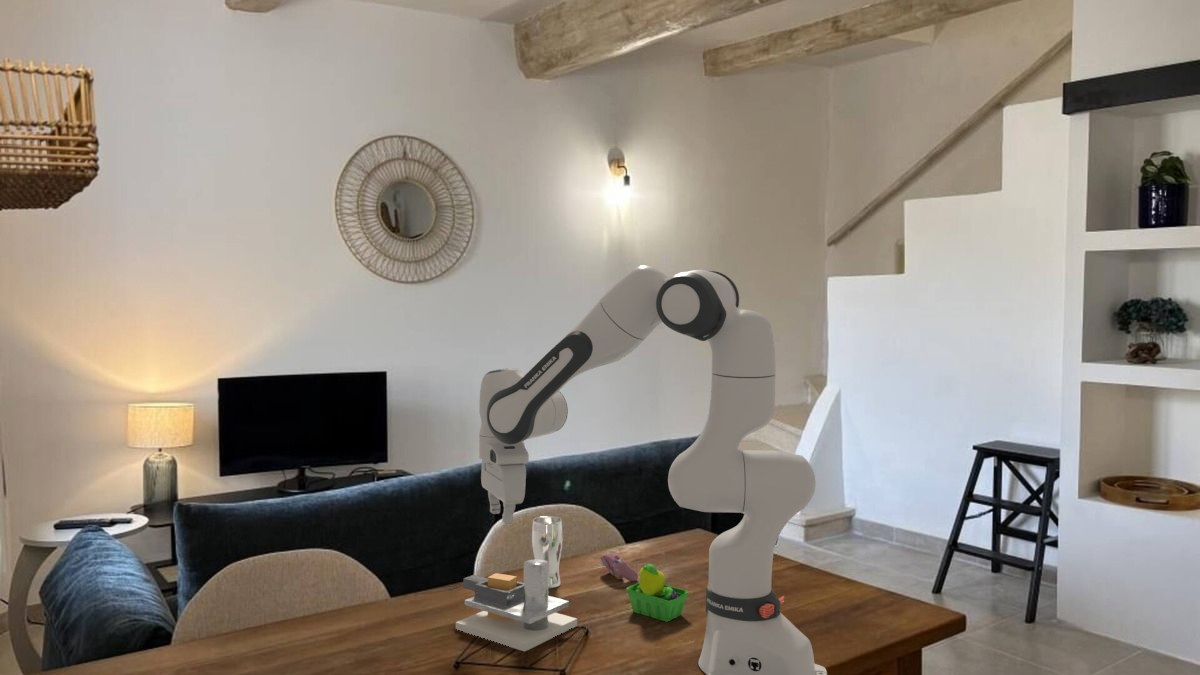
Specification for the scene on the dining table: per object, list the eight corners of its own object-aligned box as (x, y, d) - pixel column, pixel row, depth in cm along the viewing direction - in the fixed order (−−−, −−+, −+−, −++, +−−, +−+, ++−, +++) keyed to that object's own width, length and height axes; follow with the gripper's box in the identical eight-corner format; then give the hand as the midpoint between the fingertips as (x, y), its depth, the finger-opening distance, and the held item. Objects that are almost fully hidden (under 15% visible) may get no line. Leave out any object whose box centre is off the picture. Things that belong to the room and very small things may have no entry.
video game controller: (605, 578, 215) (594, 553, 213) (621, 567, 217) (609, 543, 215) (625, 590, 206) (613, 565, 204) (641, 579, 208) (629, 554, 206)
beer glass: (558, 590, 201) (558, 524, 200) (528, 588, 203) (528, 522, 202) (565, 580, 208) (565, 516, 207) (536, 578, 209) (536, 515, 209)
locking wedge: (516, 615, 181) (516, 576, 181) (509, 620, 179) (509, 580, 178) (495, 611, 184) (495, 573, 183) (487, 616, 181) (487, 577, 180)
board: (577, 625, 180) (577, 618, 180) (524, 651, 167) (524, 643, 167) (509, 606, 191) (509, 599, 191) (455, 629, 178) (455, 622, 178)
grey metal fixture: (569, 621, 179) (569, 559, 178) (529, 639, 169) (529, 574, 168) (488, 598, 191) (488, 540, 191) (447, 614, 182) (447, 553, 181)
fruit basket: (690, 615, 187) (690, 561, 186) (665, 627, 180) (666, 571, 179) (646, 602, 194) (646, 551, 193) (620, 614, 187) (621, 560, 186)
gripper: (473, 442, 188) (473, 508, 188) (499, 457, 169) (499, 530, 169) (503, 441, 190) (502, 506, 191) (531, 455, 171) (531, 528, 171)
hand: (501, 518), depth 180 cm, fingers open, 8 cm apart
